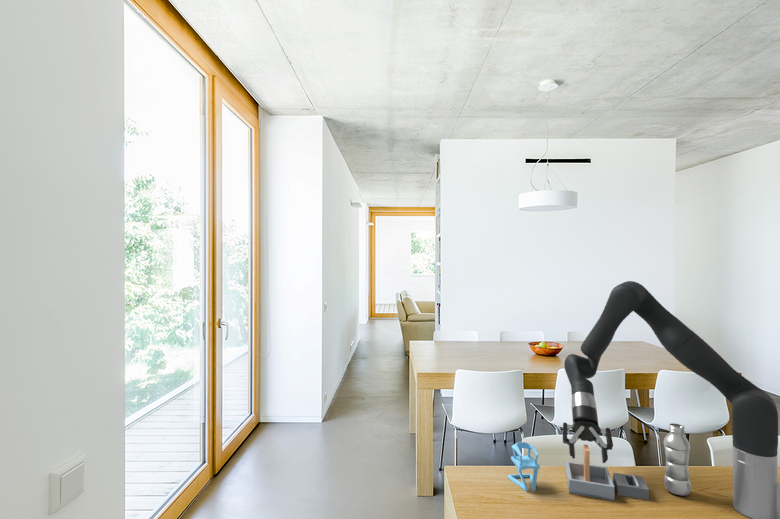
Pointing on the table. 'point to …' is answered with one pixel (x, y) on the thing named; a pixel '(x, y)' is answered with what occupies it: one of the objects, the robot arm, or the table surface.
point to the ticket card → (586, 463)
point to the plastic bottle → (677, 461)
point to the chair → (524, 465)
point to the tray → (598, 483)
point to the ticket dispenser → (630, 486)
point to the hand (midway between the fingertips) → (588, 459)
